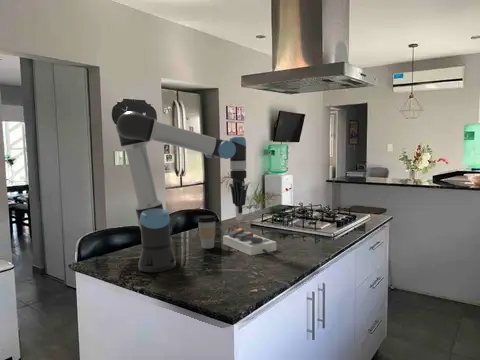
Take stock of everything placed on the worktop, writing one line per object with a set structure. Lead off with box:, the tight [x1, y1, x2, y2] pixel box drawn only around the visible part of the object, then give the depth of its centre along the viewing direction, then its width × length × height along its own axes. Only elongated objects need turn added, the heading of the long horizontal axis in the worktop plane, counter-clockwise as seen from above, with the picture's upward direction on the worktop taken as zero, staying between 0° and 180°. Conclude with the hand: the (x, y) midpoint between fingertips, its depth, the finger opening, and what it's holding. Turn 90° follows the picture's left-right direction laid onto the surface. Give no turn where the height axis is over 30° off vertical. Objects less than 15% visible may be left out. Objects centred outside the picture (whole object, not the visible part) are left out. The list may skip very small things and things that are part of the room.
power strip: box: [222, 231, 277, 256], centre depth 185 cm, size 14×34×5 cm, turn 31°
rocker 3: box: [245, 236, 263, 242], centre depth 180 cm, size 7×4×2 cm, turn 121°
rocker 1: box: [227, 227, 246, 237], centre depth 194 cm, size 7×4×2 cm, turn 121°
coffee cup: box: [197, 214, 217, 250], centre depth 190 cm, size 9×9×15 cm
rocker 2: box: [236, 231, 254, 240], centre depth 187 cm, size 7×4×2 cm, turn 121°
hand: (239, 219), depth 185 cm, fingers closed
